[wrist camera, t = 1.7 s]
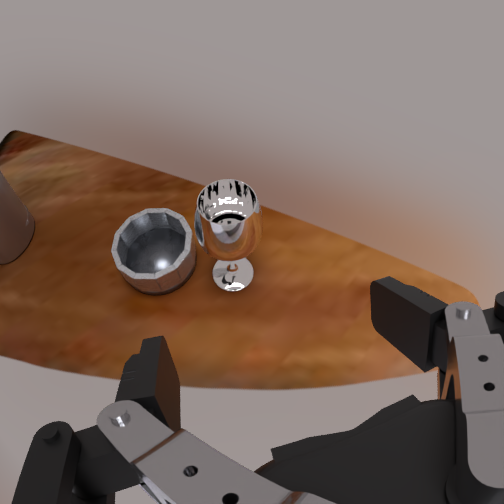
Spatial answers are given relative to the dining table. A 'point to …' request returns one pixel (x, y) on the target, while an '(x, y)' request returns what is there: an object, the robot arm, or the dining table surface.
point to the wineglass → (229, 230)
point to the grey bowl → (155, 251)
